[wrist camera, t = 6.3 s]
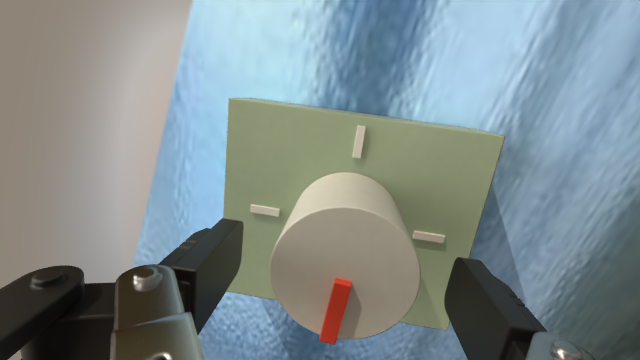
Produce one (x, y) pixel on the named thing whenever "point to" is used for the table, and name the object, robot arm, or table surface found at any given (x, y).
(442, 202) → the dial panel
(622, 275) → the table surface
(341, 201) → the dial
